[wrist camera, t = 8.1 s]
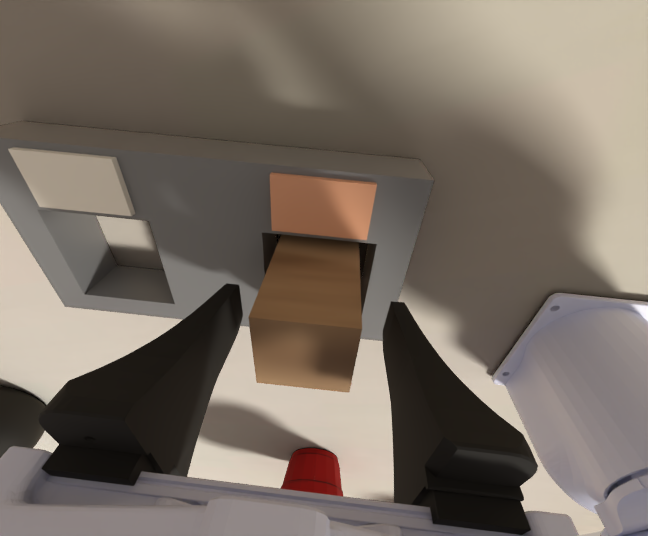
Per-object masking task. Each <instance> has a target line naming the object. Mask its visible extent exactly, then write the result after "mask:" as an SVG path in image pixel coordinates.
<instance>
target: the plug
mask: <svg viewBox="0 0 648 536" xmlns="http://www.w3.org/2000/svg"><path fill="white" fill-rule="evenodd" d="M248 318H249V326H250V334H251V341H252V349H253V357H254V365H255V373H256V381H257V383H266V384H275V385H284V386H294V387H303V388H312V389H321V390H331V391H340V392H349V390H350V385H351V381H352V376H353V371H354V366H355V361H356V356H357V352H358V347H359V342H360V337H361V332H362V311H361V285H360V259H359V242H351V241H341V240H332V239H322V238H312V237H302V236H293V235H283V234H281V236H280V239H279V242H278V244H277V247H276V249H275V252H274V254H273V257H272V259H271V262H270V264H269V267H268V269H267V272H266V274H265V277H264V279H263V282H262V284H261V287H260V289H259V292H258V294H257V297H256V299H255V302H254V305H253V307H252V310H251V312H250V315H249V317H248Z"/></svg>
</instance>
